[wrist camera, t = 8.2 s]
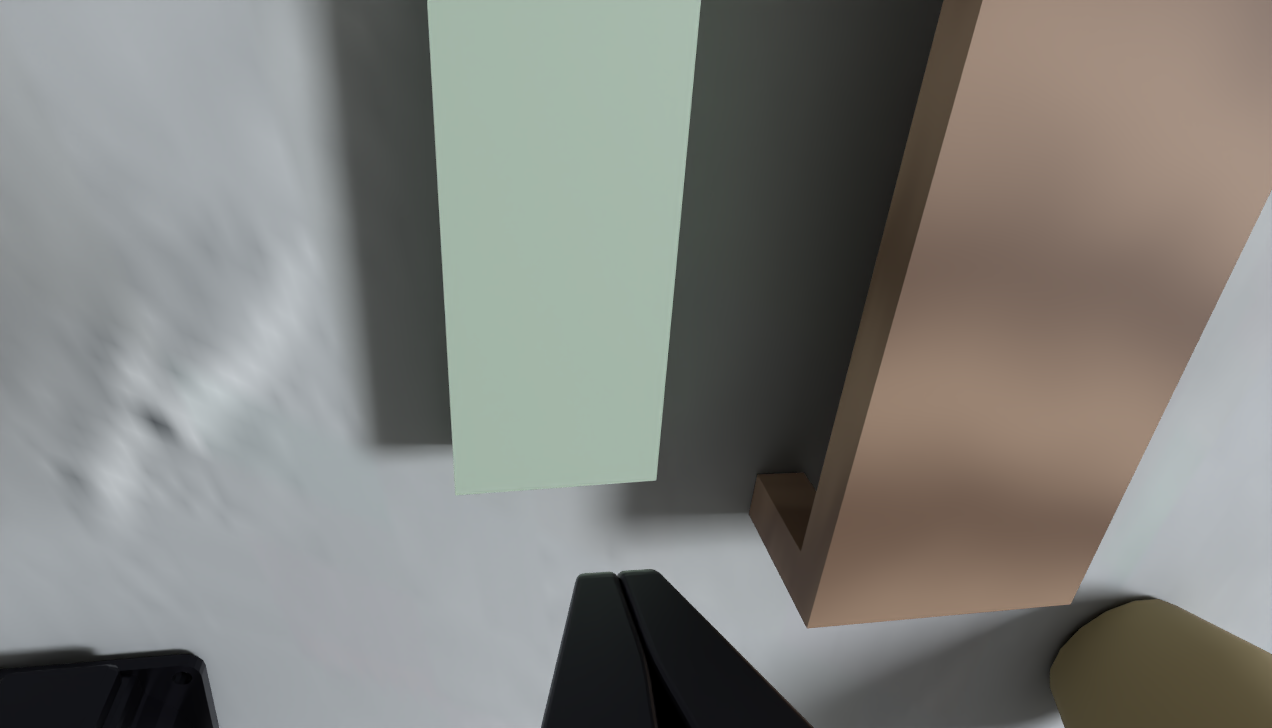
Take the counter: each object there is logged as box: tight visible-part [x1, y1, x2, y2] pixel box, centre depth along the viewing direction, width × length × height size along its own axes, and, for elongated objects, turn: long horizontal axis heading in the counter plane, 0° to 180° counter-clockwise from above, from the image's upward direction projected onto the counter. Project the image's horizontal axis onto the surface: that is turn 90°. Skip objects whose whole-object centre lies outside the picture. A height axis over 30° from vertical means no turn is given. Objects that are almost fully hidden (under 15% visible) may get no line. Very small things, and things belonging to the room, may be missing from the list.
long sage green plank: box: [427, 0, 701, 495], centre depth 18 cm, size 12×5×3 cm, turn 176°
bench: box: [749, 0, 1272, 628], centre depth 19 cm, size 18×8×5 cm, turn 174°
